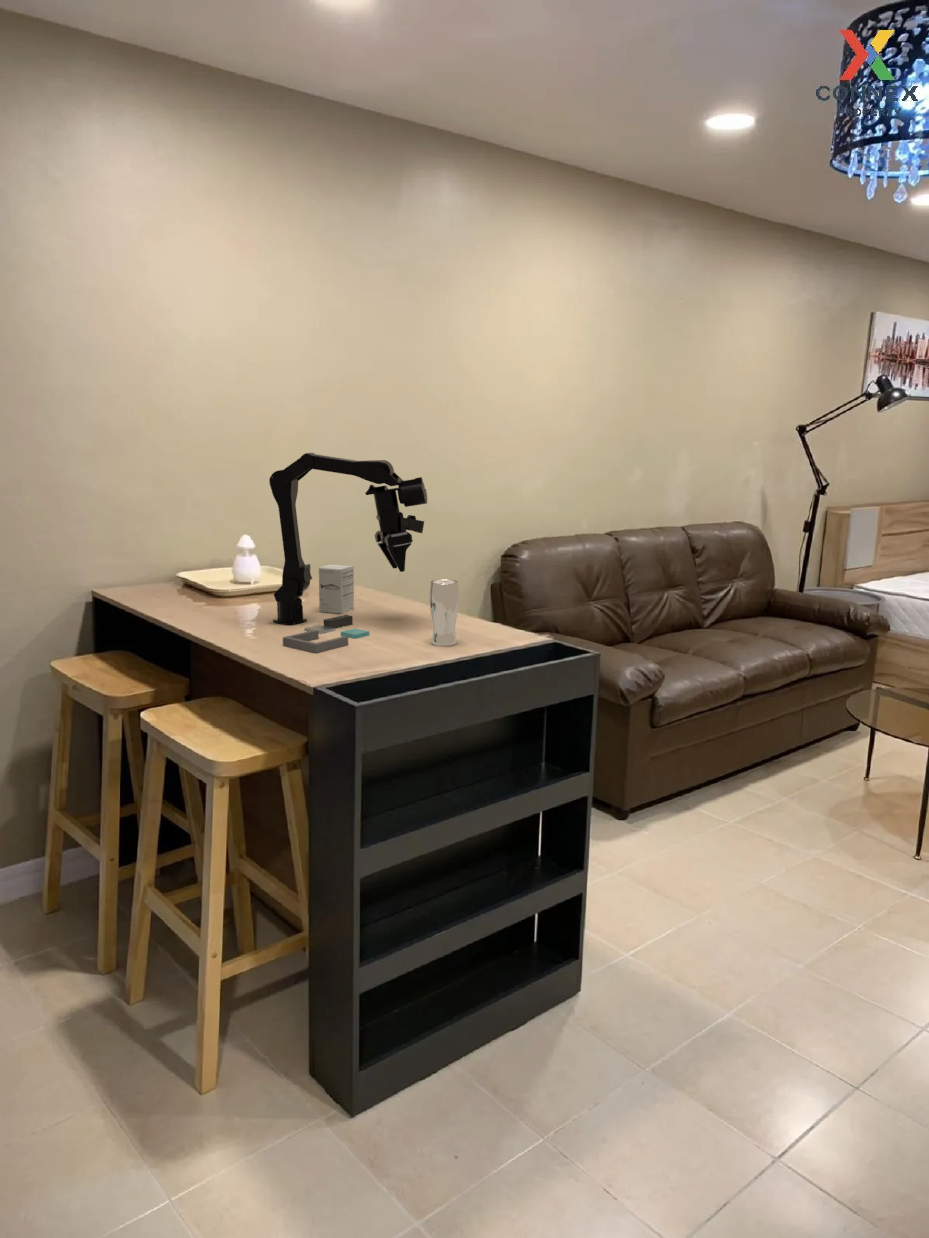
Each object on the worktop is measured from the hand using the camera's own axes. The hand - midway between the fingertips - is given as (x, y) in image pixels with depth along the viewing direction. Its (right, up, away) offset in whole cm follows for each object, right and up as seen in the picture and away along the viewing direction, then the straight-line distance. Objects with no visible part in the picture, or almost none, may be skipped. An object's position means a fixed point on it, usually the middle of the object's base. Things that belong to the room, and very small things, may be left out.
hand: (398, 569), depth 232 cm
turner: (-17, -15, -1) cm, 23 cm away
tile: (-10, -17, -9) cm, 22 cm away
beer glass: (+12, -19, -16) cm, 27 cm away
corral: (-18, -19, -19) cm, 32 cm away
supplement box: (-19, -11, +20) cm, 29 cm away
